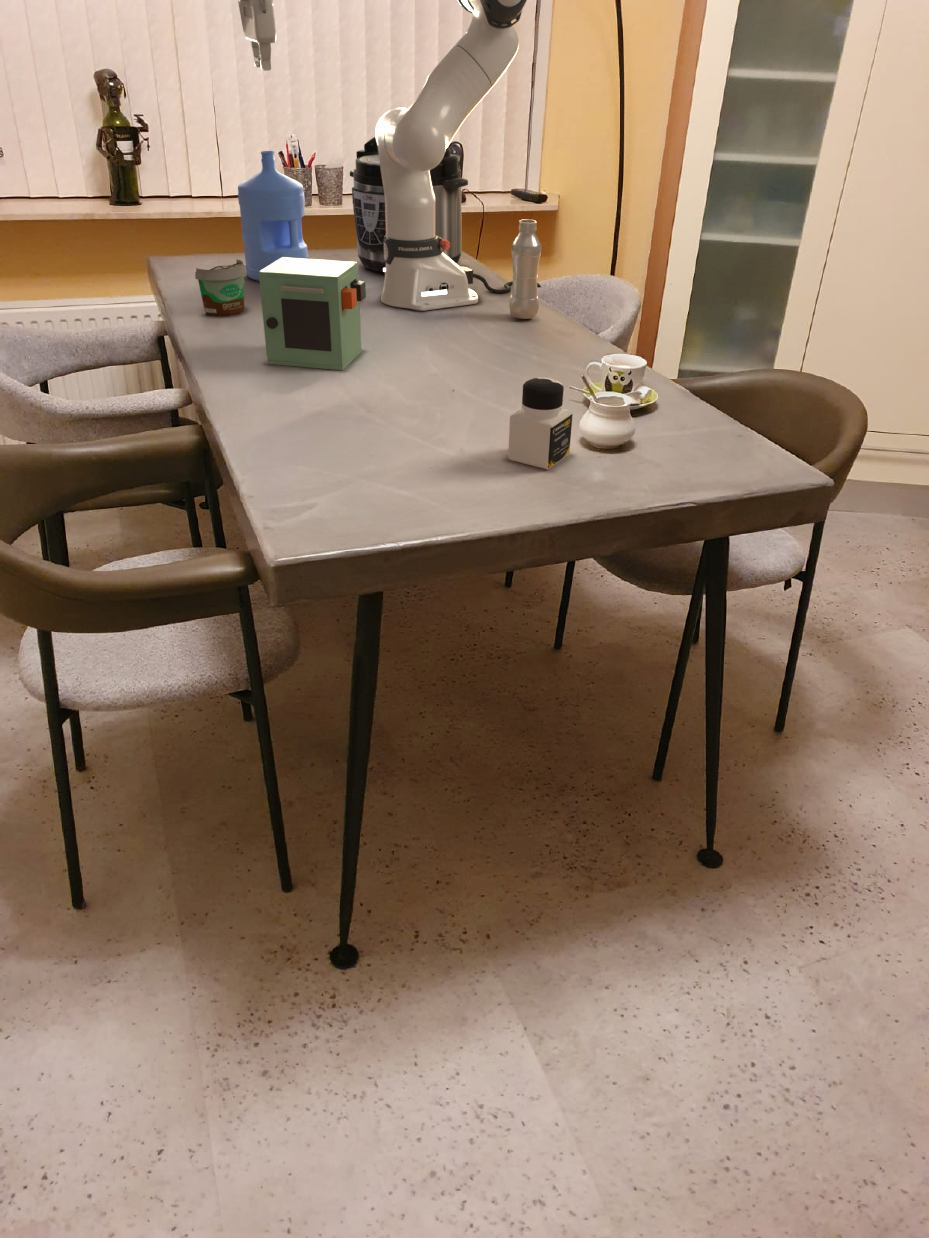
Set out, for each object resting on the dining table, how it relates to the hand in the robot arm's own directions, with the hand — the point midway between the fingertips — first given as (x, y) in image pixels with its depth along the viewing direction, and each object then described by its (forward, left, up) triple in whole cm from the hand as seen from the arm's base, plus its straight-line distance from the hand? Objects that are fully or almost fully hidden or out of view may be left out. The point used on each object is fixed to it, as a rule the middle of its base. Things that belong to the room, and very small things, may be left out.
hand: (262, 69), depth 187 cm
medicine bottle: (-25, +90, -47) cm, 104 cm away
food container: (+11, -2, -47) cm, 48 cm away
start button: (-6, +39, -36) cm, 54 cm away
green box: (-1, +33, -47) cm, 57 cm away
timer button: (-9, +35, -36) cm, 51 cm away
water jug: (-4, -33, -47) cm, 58 cm away
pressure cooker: (-38, -35, -47) cm, 70 cm away
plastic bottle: (-50, +18, -47) cm, 71 cm away
